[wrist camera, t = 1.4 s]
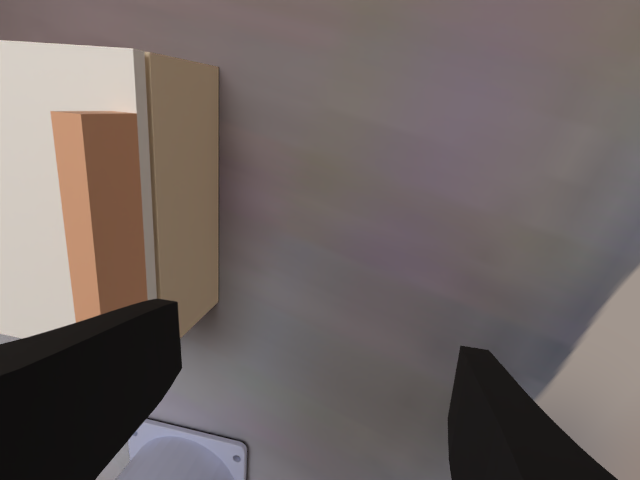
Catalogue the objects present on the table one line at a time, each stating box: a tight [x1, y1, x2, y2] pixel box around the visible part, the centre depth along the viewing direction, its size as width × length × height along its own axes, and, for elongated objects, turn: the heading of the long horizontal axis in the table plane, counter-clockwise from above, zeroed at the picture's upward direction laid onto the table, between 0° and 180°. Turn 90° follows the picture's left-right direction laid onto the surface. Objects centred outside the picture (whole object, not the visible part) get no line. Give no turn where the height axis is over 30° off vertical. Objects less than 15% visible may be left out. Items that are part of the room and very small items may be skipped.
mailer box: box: [144, 52, 219, 338], centre depth 20 cm, size 12×14×5 cm
